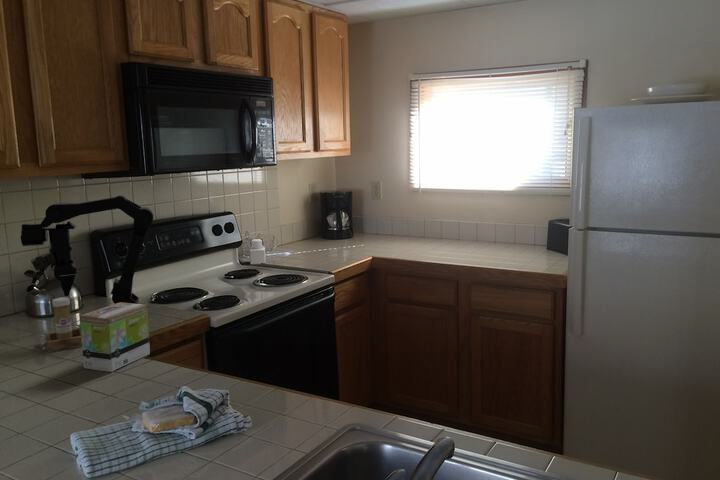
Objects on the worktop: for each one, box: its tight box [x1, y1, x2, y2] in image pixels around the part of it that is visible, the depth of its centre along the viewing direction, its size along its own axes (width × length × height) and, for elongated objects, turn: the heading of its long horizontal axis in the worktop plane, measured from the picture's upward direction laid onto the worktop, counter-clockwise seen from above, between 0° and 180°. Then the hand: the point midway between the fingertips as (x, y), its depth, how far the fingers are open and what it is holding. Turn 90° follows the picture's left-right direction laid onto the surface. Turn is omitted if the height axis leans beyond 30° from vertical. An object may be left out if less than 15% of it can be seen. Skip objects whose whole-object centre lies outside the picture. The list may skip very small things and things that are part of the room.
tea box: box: [79, 302, 151, 373], centre depth 165 cm, size 15×10×15 cm
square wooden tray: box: [45, 327, 82, 353], centre depth 182 cm, size 10×10×3 cm
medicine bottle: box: [249, 237, 267, 265], centre depth 301 cm, size 7×7×12 cm
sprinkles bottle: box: [51, 296, 73, 340], centre depth 182 cm, size 5×5×13 cm
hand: (65, 292), depth 191 cm, fingers open, 9 cm apart
